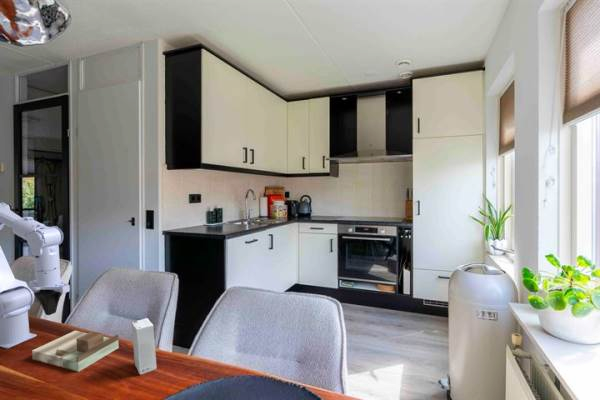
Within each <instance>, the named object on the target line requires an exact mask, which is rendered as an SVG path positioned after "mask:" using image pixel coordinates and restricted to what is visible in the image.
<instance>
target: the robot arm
mask: <svg viewBox="0 0 600 400" xmlns="http://www.w3.org/2000/svg"><path fill="white" fill-rule="evenodd" d="M4 226H7V227H9V228H11V229H12V233H13V234H14V235H16V236H18V237H20V238H22V239H23V240H25V241H27V245H28V247H29V248H30V253H31V255H32V256H33V259H34V273H35V275H34V276H35V279H34V280H31V281H28V283H27V281H24V280H20V279H17V278H15V275H14V274H13V271H12V269H11V267H10V264H9V262H8V260H7V258H6V255H5V253H4V251H3V249H2V246H1V245H0V347H1V348H3V349H10V348H12V347H15V346H16V345H19V344H21V343H23V342H26V341H28V340H31V339H33V338H35V337H37V336H38V335H37V334H35V333H32V332H30V325H29V323H30V322H29V310H30V309H31V306H32V305H33V304H34V302H35V297H36V299H37V301H39V302H40V304H41V307H42V309H43V312H44V314H45V315H46V316H51V315H53V314H56V313H57V310H58V305H59V301H60V298H61V297H62V294H65V293H69V292H70V291H71V290H70V289H71V287H70V284H67V283H65V282H64V281H62V279H61V264H60V263H61V262H60V260H61V259H60V245H61V244H62V243H63V241H64V232H63V231H62V230H61V228H59V227H58V226H56V225H54V226H53V225H52V226H46V225H45V224H44V223H41V222H39V221H37V220H35V219H34V217H32V216H25V217H22V216H20V215H18V214H17V213H15V212H14V211H13V210H11V207H10V205H8V204H7V203H5V202H1V201H0V231H1V230H3V228H4ZM34 291H37V292H34Z"/></svg>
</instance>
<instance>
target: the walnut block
mask: <svg viewBox="0 0 600 400" xmlns="http://www.w3.org/2000/svg"><path fill="white" fill-rule="evenodd" d="M86 333H87V334H85V335H83V336H81V337H79V338H77V339H76V342H77V351H79V352H86V351H88V350H89V349H91V348H93V347H95V346H97V345H99V344H100V343H102V342H104V338H103V337H104V333H102V332H96V331H93V330H91V331H89V332H86Z"/></svg>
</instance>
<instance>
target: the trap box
mask: <svg viewBox="0 0 600 400" xmlns="http://www.w3.org/2000/svg"><path fill="white" fill-rule="evenodd" d="M87 333H88V332H84V331H83V332H82V331H79V330H73V331H71V332H69V333H67V334H65V335H63V336H61V337H59V338H56V339H54V340H52V341H50V342H48V343H45V344H44V345H41V346H39V347H37V348H35V349H32V350H31V352H32V353H31V354H32V360H33V361H35V360H36V361H38V362H42V363H46V364H49V365H53V366H56V367H60V368H64V369H67V370H71V371H75V372H81V371H82V370H84V369H86V368H88V367H90V366H91V365H92V364H94V363H95V362H97V361H99V360H101V359H103V358H105V356H107V355H109V354H110V353H112V352H114V351H116V350H117V349H120V347H119V335H118V334H115V335H113V336H112V337H107V336H103V338H104V342H102V343H100V344H99V345H97V346H95V347H93V348H91V349H89V350H88V351H86V352H79V351H77V342H76V339H77V338H79V337H81V336H83V335H85V334H87Z"/></svg>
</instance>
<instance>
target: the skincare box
mask: <svg viewBox="0 0 600 400" xmlns="http://www.w3.org/2000/svg"><path fill="white" fill-rule="evenodd" d="M154 331H155V330H154V324H153V323H152V322H151V321H150V320H149V318H148V317H146V318H141V319H138V320H135V321H132V322H131V335H132V344H133V347H132V348H133V358H134V366H135V368H136V370H137V372H138V374H139V375H144V374H147V373H149V372H152V371H155V370H157V357H156V345H155V344H156V342H155V332H154Z"/></svg>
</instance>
